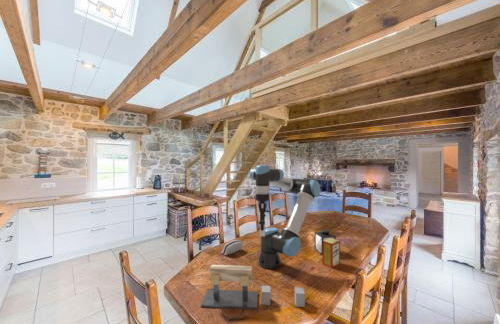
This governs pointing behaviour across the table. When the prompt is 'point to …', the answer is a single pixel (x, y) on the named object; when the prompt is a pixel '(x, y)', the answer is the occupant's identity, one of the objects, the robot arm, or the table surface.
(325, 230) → the lantern
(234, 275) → the beige long block
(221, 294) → the bracket stand
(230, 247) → the grey curved block
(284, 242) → the robot arm
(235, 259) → the table surface
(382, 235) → the table surface
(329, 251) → the baking soda box
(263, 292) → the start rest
